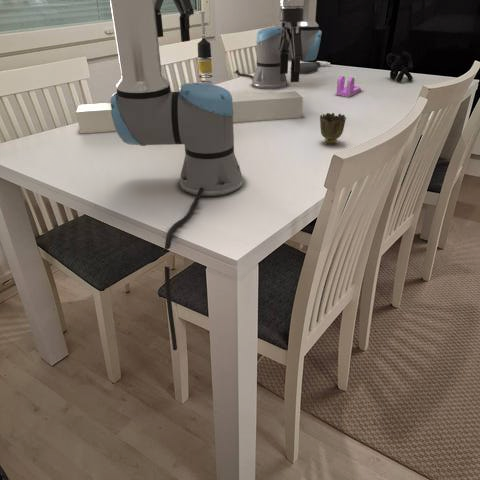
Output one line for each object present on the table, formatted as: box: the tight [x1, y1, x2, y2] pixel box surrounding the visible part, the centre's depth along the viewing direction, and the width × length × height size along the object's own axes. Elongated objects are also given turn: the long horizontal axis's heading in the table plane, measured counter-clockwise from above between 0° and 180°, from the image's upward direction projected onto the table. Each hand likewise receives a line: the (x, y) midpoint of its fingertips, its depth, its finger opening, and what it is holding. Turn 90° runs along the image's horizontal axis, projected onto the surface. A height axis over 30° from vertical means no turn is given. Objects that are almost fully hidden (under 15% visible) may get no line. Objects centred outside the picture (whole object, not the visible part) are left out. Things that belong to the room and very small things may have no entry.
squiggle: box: [385, 51, 414, 83], centre depth 198 cm, size 11×10×15 cm
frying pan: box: [289, 60, 331, 75], centre depth 223 cm, size 3×11×24 cm
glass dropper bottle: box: [197, 11, 214, 85], centre depth 181 cm, size 6×6×30 cm
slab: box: [75, 90, 304, 134], centre depth 152 cm, size 75×9×7 cm, turn 100°
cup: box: [319, 112, 347, 145], centre depth 131 cm, size 8×7×8 cm
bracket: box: [335, 75, 362, 98], centre depth 181 cm, size 13×6×7 cm, turn 143°
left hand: (172, 39), depth 138 cm, fingers open, 13 cm apart
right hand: (288, 77), depth 152 cm, fingers open, 13 cm apart
